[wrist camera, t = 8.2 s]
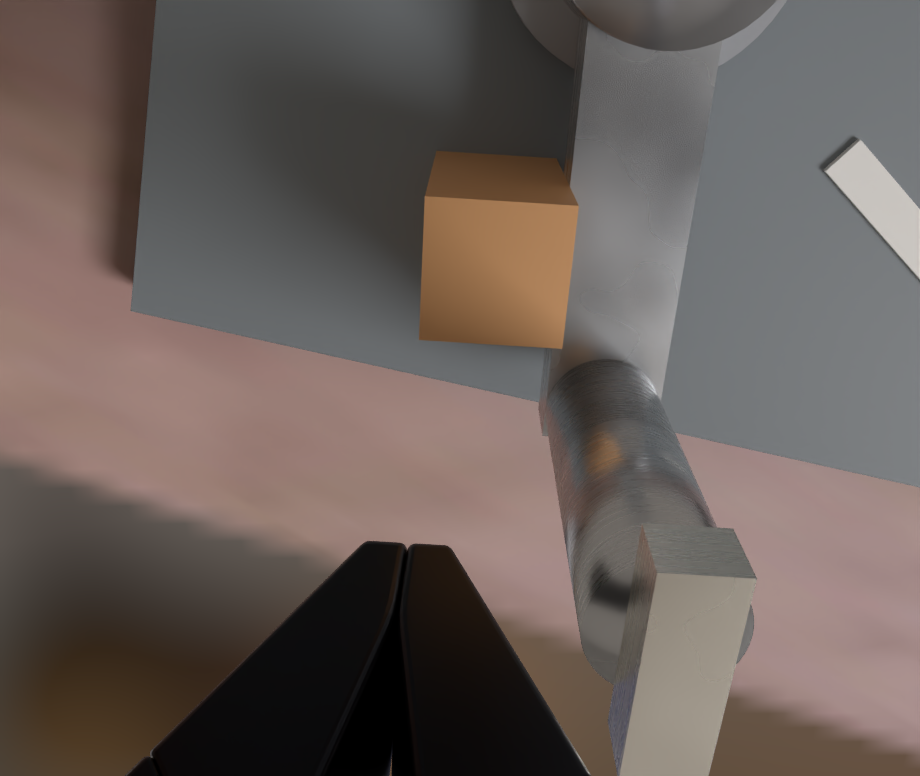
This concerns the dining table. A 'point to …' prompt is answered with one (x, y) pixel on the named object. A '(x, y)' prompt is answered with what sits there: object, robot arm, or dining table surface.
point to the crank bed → (417, 70)
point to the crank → (642, 386)
